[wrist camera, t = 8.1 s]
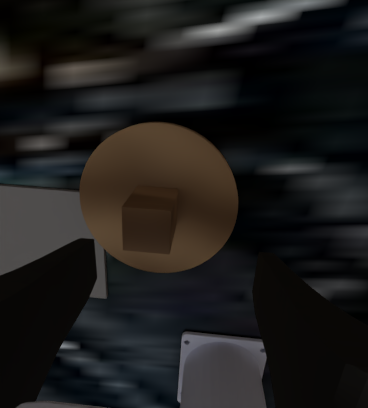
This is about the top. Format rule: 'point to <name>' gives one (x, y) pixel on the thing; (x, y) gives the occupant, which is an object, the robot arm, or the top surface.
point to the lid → (159, 197)
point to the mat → (43, 228)
